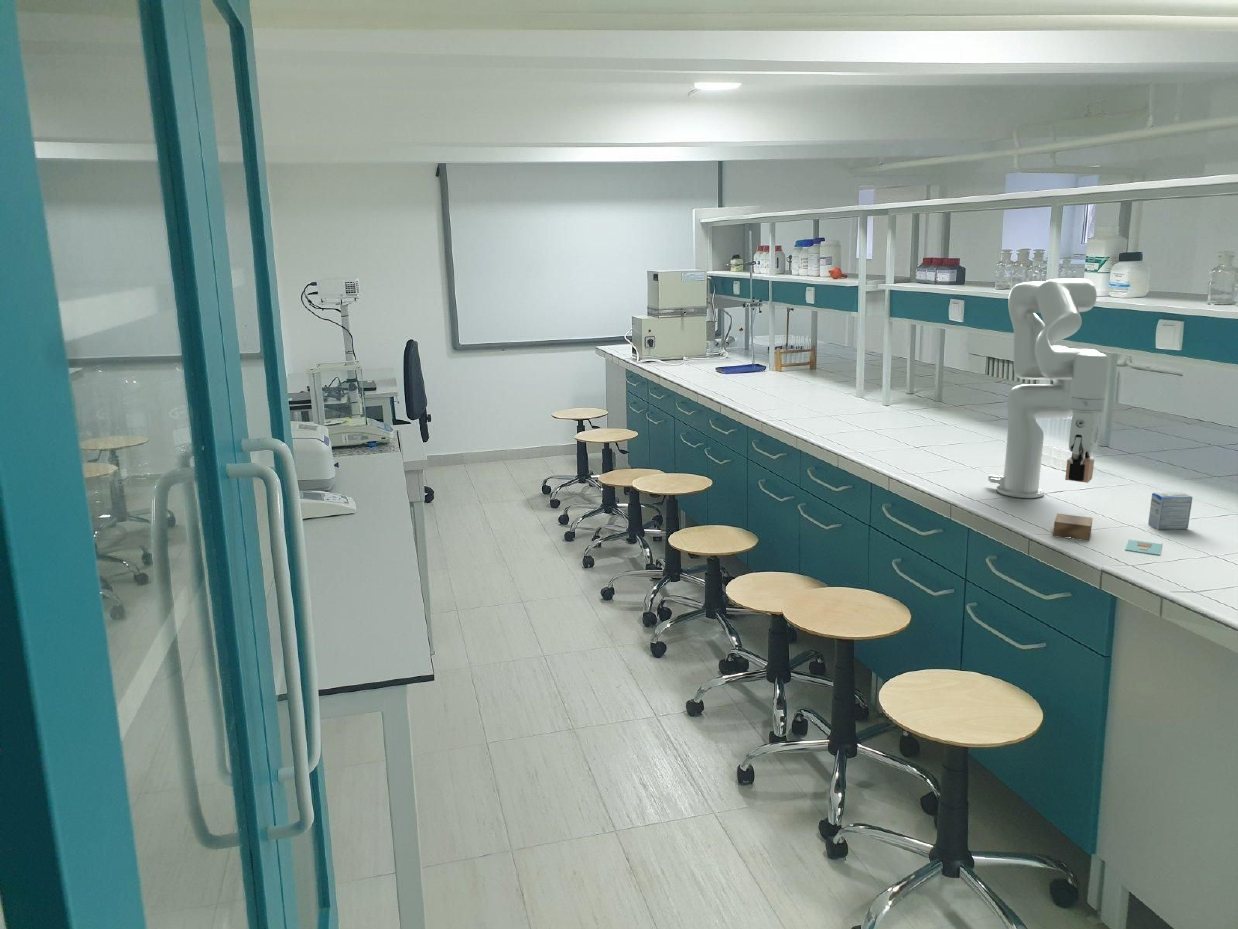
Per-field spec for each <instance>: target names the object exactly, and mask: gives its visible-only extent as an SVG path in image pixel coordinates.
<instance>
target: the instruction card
mask: <svg viewBox="0 0 1238 929" xmlns="http://www.w3.org/2000/svg"><path fill="white" fill-rule="evenodd" d="M1162 545H1163V544H1162V543H1157V542H1150V541H1143V540H1137V539H1128V541H1127V543H1126V547H1125V549H1124V551H1126V552H1133V551H1134V553H1141V554H1148V555H1154V556H1161V555H1160V554H1161V549H1162Z"/></svg>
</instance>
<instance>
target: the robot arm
mask: <svg viewBox="0 0 1238 929" xmlns="http://www.w3.org/2000/svg"><path fill="white" fill-rule="evenodd" d="M1095 286H1096V285H1095V284H1094V283H1093V282H1092V281H1091V280H1089V279H1087V278H1053V279H1048V280H1046V281H1028V282H1026V281H1025V282H1022V283H1018V284H1015V285H1014V286H1013V287H1012V288H1011V290H1010V292H1009V293H1008V294H1009V295H1008V300H1007V301H1008V302H1007V303H1008V304H1007V305H1008V307H1007V308H1008V313H1009V318H1010V322H1011V324H1012V328H1013V371H1014V375H1015V376H1016V377H1017V378H1018V379H1022V380H1037V381H1039V380H1040V381H1041V380H1044V381H1048V380H1049V381H1052V382H1053V384H1041V383H1040V384H1034V383H1033V384H1032V383H1030V384H1026V383H1025V384H1019V385H1015V386H1014V387H1012V388H1010V390H1009V391H1008V392H1007V396H1006V397H1007V398H1006V404H1007V415H1008V416H1007V420H1008V421H1007V437H1006V448H1005V458H1004V468H1003V469H1004V470H1003V475H1002V474H1001V475H1000V476H999V475H996V474H989V475H988V477H987V478H988V482H990V483H993V484H998V485H997V487H996V491H997V493H998V494H1001V495H1003V496H1006V497H1012V498H1019V499H1020V498H1021V499H1035V498H1041V497H1043V496H1044V495H1045V490H1044V489H1042V488H1041V487H1039V486H1040V479H1041V478H1040V477H1041V468H1042V457H1043V448H1044V440H1045V439H1044V431H1043V429H1042V427H1041V426H1040V425H1039V423H1038V422H1037V419H1039V420H1040V419H1065V418H1069V417H1070V416H1071V415H1072V416H1071V423H1070V428H1069V429H1070V430H1069V437H1068V438H1069V440H1068V451H1070V452H1071V456H1070V458H1071V463H1070V470H1069V479H1070V480H1076V481H1075V482H1078V481H1083V479H1084V470H1085V465H1084V459H1085V458H1091V453H1093V452H1095V450H1096V449H1098V447H1099V441H1100V440H1099V438H1100V422H1101V421H1100V420H1101V413H1104V411H1105V410H1104V408H1105V401H1106V400H1105V399H1106V390H1107V383H1108V375H1109V374H1108V373H1109V366H1110V365H1109V364H1110V358H1109V356H1108V355H1106V353H1105V354H1104V353H1101V352H1100V351H1098V350H1096V349H1092V348H1091V349H1090V348H1069V347H1067V346H1063V345H1052V344H1054V343H1056V342H1059V341H1063V340H1064V339H1066V338H1069V337H1071V336H1073V335H1074V334H1076V333H1077V332H1078V331H1079V330H1080V328H1081V327H1082V322H1083V321H1082V316H1081V313H1086V312H1089V311H1090V310H1092V309H1093V308H1094V307H1095V305H1096V302H1097V299H1098V298H1097V290H1096V287H1095ZM1038 314H1040V315H1041V318H1042V319H1041V318H1040V317H1039V316H1038ZM1081 456H1082V457H1081ZM1070 480H1069V481H1070Z"/></svg>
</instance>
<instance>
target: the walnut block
mask: <svg viewBox="0 0 1238 929" xmlns="http://www.w3.org/2000/svg"><path fill="white" fill-rule="evenodd" d="M1092 527H1093V517H1089V516H1082V515H1072V514H1065V513H1056V517H1055V519H1054V523H1053V531H1052V537H1057V536H1058V538H1064V537H1071V538H1070V539H1072V538H1074V539H1073V540H1079V539H1081V540H1080V541H1087V542H1088V541H1089V542H1090V538H1091V533H1092Z"/></svg>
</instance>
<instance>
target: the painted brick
mask: <svg viewBox="0 0 1238 929" xmlns="http://www.w3.org/2000/svg"><path fill="white" fill-rule="evenodd" d="M1081 457H1082V456H1081ZM1070 463H1071V457H1068V459H1067V460H1066V470H1065V478H1064V479H1065V481H1072V482H1080V483H1087V484H1088V483H1089V482H1090V481H1091V480H1092V479H1093V473H1094V467H1095V466H1094V465H1095V458H1091V457H1090V458H1085V459H1084V465H1085V470H1084V479H1083V481H1076V480H1070V479H1069V470H1070Z"/></svg>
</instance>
